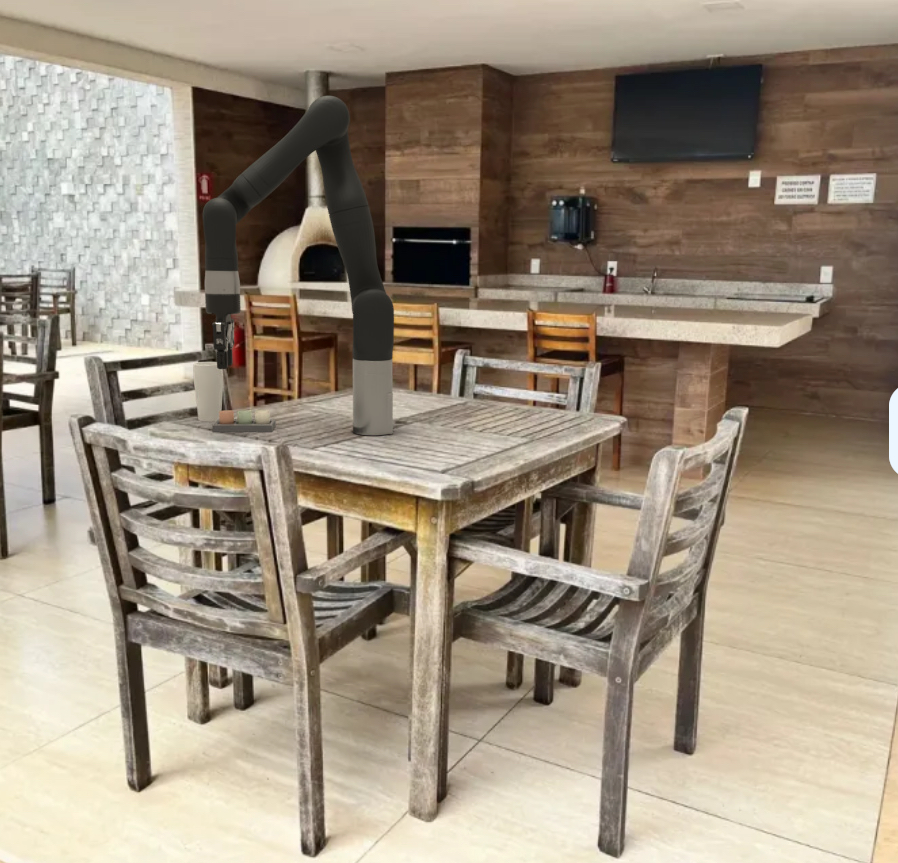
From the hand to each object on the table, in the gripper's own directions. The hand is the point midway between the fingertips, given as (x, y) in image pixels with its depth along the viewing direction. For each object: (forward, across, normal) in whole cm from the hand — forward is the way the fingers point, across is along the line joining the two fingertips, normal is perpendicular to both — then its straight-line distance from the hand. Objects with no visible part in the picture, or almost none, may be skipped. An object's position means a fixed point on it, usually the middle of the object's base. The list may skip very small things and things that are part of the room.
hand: (225, 366), depth 200 cm
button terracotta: (+14, 0, 0) cm, 14 cm away
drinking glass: (+16, +12, +6) cm, 21 cm away
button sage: (+14, 0, -4) cm, 15 cm away
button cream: (+14, 0, -8) cm, 16 cm away
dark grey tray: (+16, 0, -4) cm, 16 cm away
